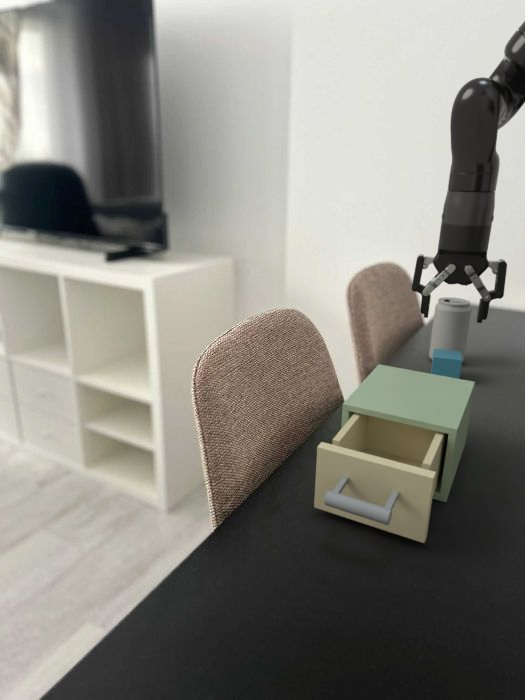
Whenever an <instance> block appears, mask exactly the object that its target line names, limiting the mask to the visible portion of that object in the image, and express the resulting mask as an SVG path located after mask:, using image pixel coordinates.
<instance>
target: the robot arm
mask: <svg viewBox="0 0 525 700" xmlns="http://www.w3.org/2000/svg"><path fill="white" fill-rule="evenodd" d="M524 104H525V20H524V21H523V22H522V23H521V24H520V26H519V27H518V28H517V30H515V32H514V33H513V34H512V36H511V37H510V38H509V39H508V41H507V43H506V44H505V46H504V50H503V58H502V60H500V62H499V63H498V64H497V66H496V67H495V69H494V70H493V71H492V73H491V74H490V76H489V77H475V78H473V79H470V80H469V81H467V82H466V83H465V84H464V85H462V86H461V88H459V90H458V92H457V93H456V95H455V98H454V100H453V103H452V108H451V112H450V124H449V125H450V127H449V129H450V130H449V131H450V152H451V164H450V168H449V169H450V170H449V177H448V184H447V191H446V195H445V200H444V203H443V208H442V213H441V222H440V223H441V224H440V231H439V236H438V245H437V252H436V254H435V255H434V256H428V255H424V254H423V253H420V254H418V255H417V257H416V261H415V266H414V272H413V277H412V283H411V290H412V292H415V293H418V294H420V295H421V301H420V308H419V309H420V310H419V312H420V314H421V315H423V318H424V319H428V318H429V314H430V313H429V312H430V304H431V298H432V292H433V291H434V290H436V289H437V288H438V287H439V286H440V285H441V284H442V283H446V284H447V285H460V286H464V287H465V286H466V287H468V286H470V285H473V286H474V288H475V289H476V291H477V292H478V294H479V296H480V297H481V298H479V303H478V308H477V314H476V323H478V324H482V323H483V321H486V320H487V318H488V315H489V310H490V305H491V301H493V300H497V299H499V300H500V299H503V298H504V295H505V287H506V278H507V271H508V269H507V268H508V263H507V262H506V260H505V259H503V258H500V259H498V260H488V251H489V244H490V240H491V239H490V238H491V233H492V227H493V222H494V218H495V215H494V214H495V208H496V207H495V205H496V189H497V187H498V186H497V185H498V179H499V174H500V160H501V159H500V156H499V155H500V154H499V153H498V152H497V141H498V131H499V130H500V129H502V128H503V127H505V126H506V124H508V123H509V122H510V121H511V120H513V118H514V116H516V115H517V114H518V112H519V111H520V109H521V108H522V107H523V106H524ZM431 264H433V266H434V268H435V270H436V271H437V273H436V274H435V275H434V276H433V277H432V278H431V279H430V281H428V282H427V283H426V284H421V280H422V275H423V270H427V269H428V268H429V266H430V265H431ZM488 268H489V269H491V273H492V274H493V275H495V280H494V289H492V290H491V289H490V290H488V288H487V287H486V285H485V284H484V282H483V280H482V279H481V277H480V276H482V274H483V273H484V272H485V271H487V269H488Z"/></svg>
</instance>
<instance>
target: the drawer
mask: <svg viewBox="0 0 525 700" xmlns="http://www.w3.org/2000/svg"><path fill="white" fill-rule="evenodd" d="M447 437H448V434H446V433H442V432H438V431H433V430H429V429H425V428H420V427H416V426H412V425H407V424H403V423H399V422H394V421H390V420H386V419H381V418H377V417H372V416H368V415H364V414H359V413H354V414H353V416H352V417H351V418H350V419H349V420H348V422H347V423H346V424H345V425H344V426H343V428H342V429H341V428H340V429H339V431H338V432H337V434H335V436H334V437H333V438H332V442H331V443H332V444H331V443H328V442H325V441H321V442H320V443H319V444H318V445H317V447H316V464H315V465H316V466H315V484H314V501H313V502H314V505H313V508H315V509H317V510H320V511H324V512H327V513H330V514H333V515H335V516H339V517H342V518H345V519H349V520H350V521H351V520H352V521H355V522H357V523H360V524H364V525H367V526H370V527H373V528H376V529H379V530H382V531H385V532H388V533H391V534H394V535H398V536H400V537H403V538H406V539H410V540H413V541H416V542H418V543H421V544H425V543H426V540H427V538H428V530H429V525H430V518H431V511H432V510H431V509H432V503H433V499H432V497H433V495H434V492H435V489H436V487H437V484H438V481H439V479H440V476H441V473H442V470H443V464H444V457H445V451H446V444H447Z"/></svg>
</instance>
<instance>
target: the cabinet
mask: <svg viewBox="0 0 525 700" xmlns="http://www.w3.org/2000/svg"><path fill="white" fill-rule="evenodd" d="M475 385H476V381H473V380H469V379H468V380H467V379H461V378H459V379H457V378H451V377H446V376H440V375H435V374H431V373H429V372H423V371H418V370H413V369H406V368H403V367H402V368H401V367H395V366H392V365H385V364H377V365H376V367H374V369H372V370H371V372H370V373H369V374H368V375H367V376H366V377H365V379H364V380H363V381H362V382H361V383H360V384H359V385H358V386H357V388H356V389H355V390H354V391H353V392H352V393H351V394H350V395H349V396H348V397H347V398H346V400H345V401H344V402H343V403H342V411H341V427H340V430H341V429H342V428H343V426H344V425H345V424H346V423H347V422H348V420H349V419H350V418H351V417H352V416H353V414H354V413H359V414H364V415H368V416H372V417H377V418H381V419H386V420H390V421H394V422H399V423H403V424H407V425H412V426H416V427H420V428H425V429H429V430H433V431H438V432H442V433H446V434H448V437H447V444H446V451H445V457H444V464H443V470H442V473H441V476H440V479H439V481H438V484H437V487H436V489H435V492H434V495H433V497H432V500H436V501H439V502H443V503H448V498H449V496H450V491H451V489H452V486H453V483H454V480H455V476H456V475H457V474H456V473H457V470H458V467H459V464H460V461H461V458H462V455H463V452H464V449H465V446H466V441H467V435H468V429H469V422H470V416H471V410H472V404H473V398H474V393H475Z"/></svg>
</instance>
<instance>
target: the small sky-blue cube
mask: <svg viewBox="0 0 525 700" xmlns="http://www.w3.org/2000/svg"><path fill="white" fill-rule="evenodd" d="M462 364H463V362H462V354H461V352H460V351H451V350H441V349H434V352H433V360H432V359H431V369H430V374H435V375H440V376H446V377H451V378H457V379H461V370H462V366H463V365H462Z"/></svg>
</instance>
